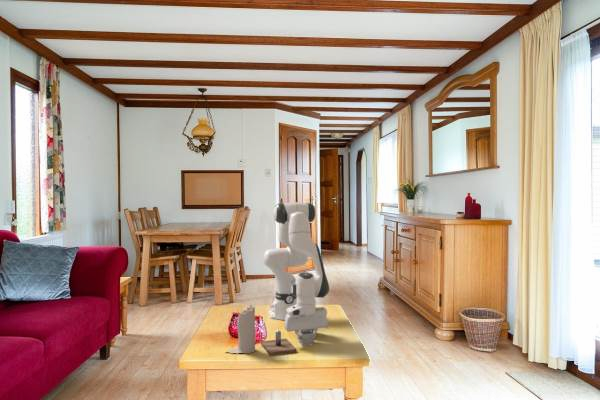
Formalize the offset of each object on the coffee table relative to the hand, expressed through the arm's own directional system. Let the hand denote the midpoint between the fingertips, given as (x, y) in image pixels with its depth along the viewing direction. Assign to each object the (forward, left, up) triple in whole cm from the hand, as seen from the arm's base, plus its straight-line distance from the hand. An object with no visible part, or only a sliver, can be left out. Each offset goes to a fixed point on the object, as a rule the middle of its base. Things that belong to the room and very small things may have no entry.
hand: (306, 338), depth 194 cm
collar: (0, 0, -2) cm, 2 cm away
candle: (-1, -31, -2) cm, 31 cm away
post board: (+2, -14, -2) cm, 14 cm away
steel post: (+2, -14, -1) cm, 14 cm away
